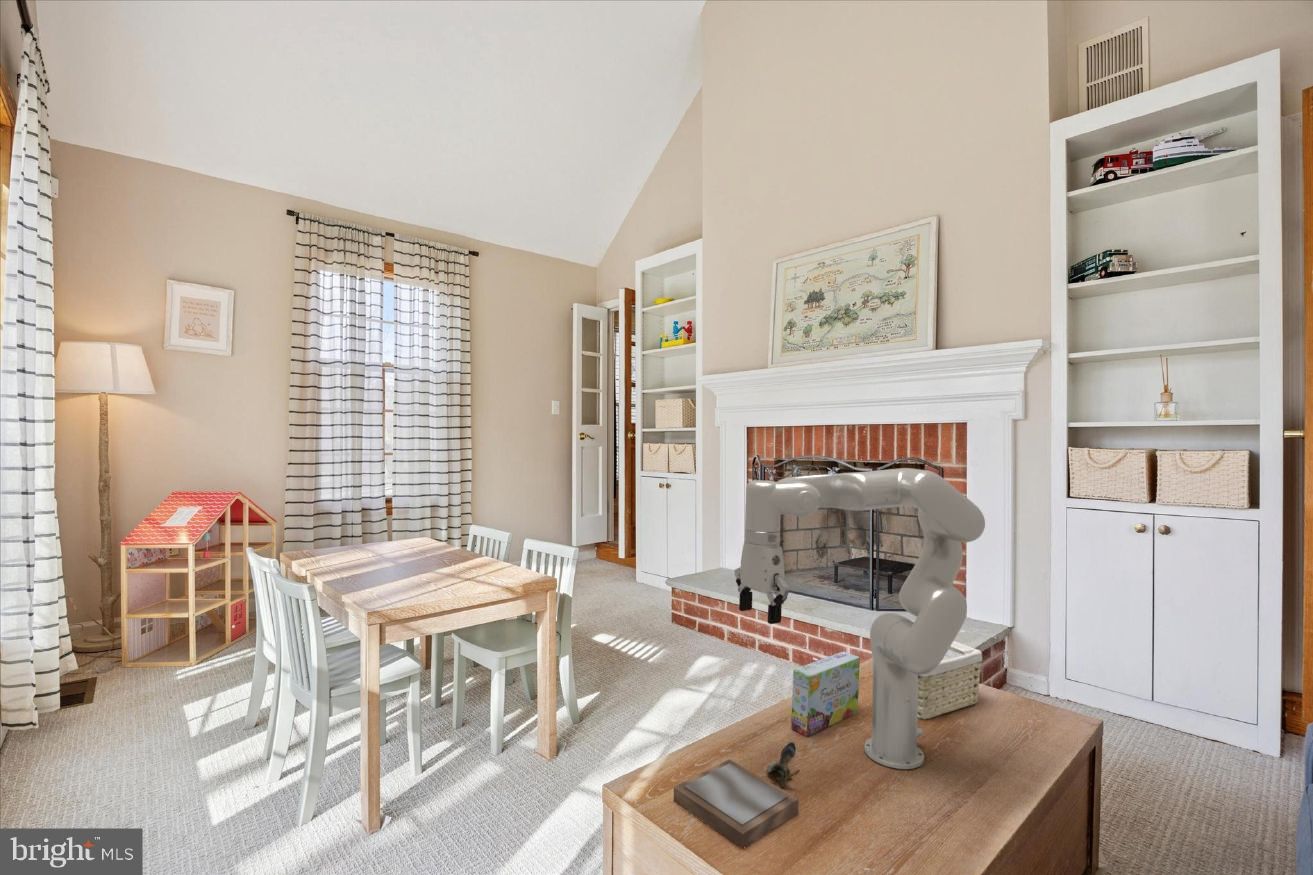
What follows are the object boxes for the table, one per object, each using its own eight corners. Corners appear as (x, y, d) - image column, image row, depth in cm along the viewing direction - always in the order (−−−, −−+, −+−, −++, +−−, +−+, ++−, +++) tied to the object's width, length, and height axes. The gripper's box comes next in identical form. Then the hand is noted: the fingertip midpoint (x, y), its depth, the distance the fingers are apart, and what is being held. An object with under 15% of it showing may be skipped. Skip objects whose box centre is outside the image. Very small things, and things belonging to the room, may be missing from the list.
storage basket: (922, 724, 154) (923, 665, 154) (872, 698, 169) (873, 644, 168) (984, 705, 165) (985, 651, 165) (933, 682, 179) (934, 632, 179)
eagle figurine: (810, 785, 125) (803, 754, 134) (792, 758, 124) (786, 729, 133) (777, 801, 127) (773, 769, 135) (759, 774, 126) (756, 744, 134)
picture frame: (729, 771, 132) (729, 757, 132) (798, 812, 118) (798, 797, 118) (673, 800, 121) (673, 785, 121) (742, 849, 108) (742, 832, 108)
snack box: (809, 738, 146) (810, 675, 146) (790, 729, 150) (791, 668, 150) (859, 713, 159) (860, 655, 159) (840, 705, 164) (842, 649, 164)
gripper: (803, 543, 128) (800, 625, 128) (750, 530, 143) (748, 603, 143) (775, 546, 124) (772, 630, 124) (724, 532, 139) (722, 607, 139)
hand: (759, 616), depth 134 cm, fingers open, 9 cm apart
